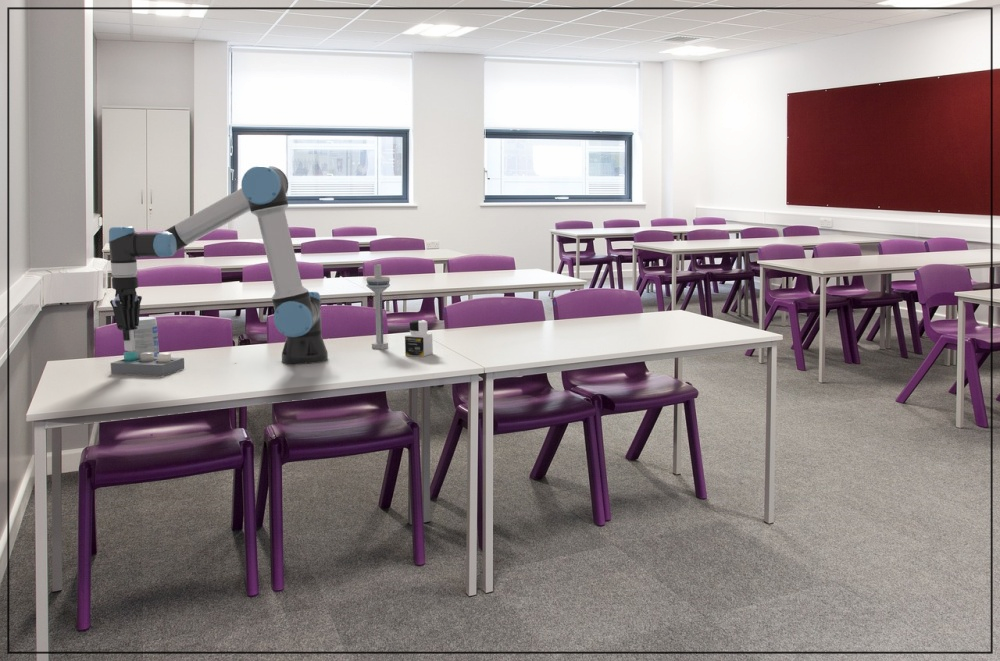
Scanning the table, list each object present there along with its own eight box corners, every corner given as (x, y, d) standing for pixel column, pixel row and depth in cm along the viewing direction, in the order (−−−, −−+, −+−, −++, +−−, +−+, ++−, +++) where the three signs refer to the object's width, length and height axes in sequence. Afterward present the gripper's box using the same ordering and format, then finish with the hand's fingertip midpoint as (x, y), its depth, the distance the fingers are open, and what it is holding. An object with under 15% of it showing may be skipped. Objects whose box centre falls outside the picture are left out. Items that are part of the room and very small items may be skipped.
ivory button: (174, 362, 282) (173, 352, 281) (166, 364, 278) (166, 355, 278) (162, 361, 283) (162, 352, 282) (155, 364, 279) (154, 354, 278)
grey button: (157, 361, 283) (156, 352, 283) (149, 364, 279) (148, 354, 279) (146, 361, 284) (145, 351, 284) (138, 363, 280) (137, 354, 280)
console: (184, 368, 286) (183, 357, 285) (162, 376, 274) (161, 365, 274) (135, 366, 290) (134, 356, 289) (111, 374, 278) (110, 363, 278)
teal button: (140, 360, 284) (139, 351, 284) (132, 363, 281) (132, 354, 280) (129, 360, 285) (128, 351, 285) (121, 362, 282) (120, 353, 281)
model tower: (383, 350, 315) (381, 266, 310) (363, 349, 318) (361, 265, 314) (396, 346, 322) (393, 264, 318) (376, 345, 326) (374, 263, 321)
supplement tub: (162, 362, 297) (159, 318, 294) (132, 365, 291) (129, 321, 289) (155, 357, 305) (152, 315, 302) (126, 361, 299) (123, 317, 297)
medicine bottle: (405, 355, 305) (404, 321, 303) (414, 352, 311) (413, 318, 309) (423, 357, 302) (422, 322, 300) (433, 353, 309) (432, 319, 307)
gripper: (127, 273, 286) (132, 346, 289) (100, 277, 273) (106, 353, 277) (147, 274, 284) (152, 347, 288) (122, 278, 272) (127, 354, 275)
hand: (129, 350), depth 282 cm, fingers closed
